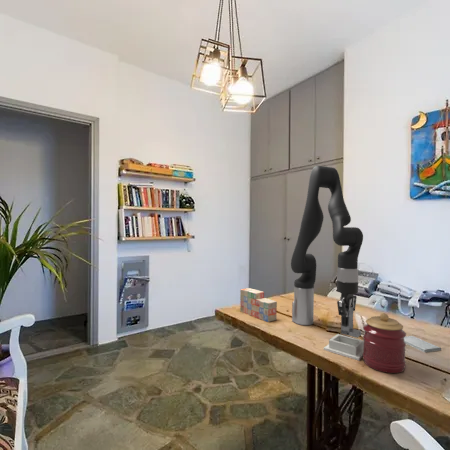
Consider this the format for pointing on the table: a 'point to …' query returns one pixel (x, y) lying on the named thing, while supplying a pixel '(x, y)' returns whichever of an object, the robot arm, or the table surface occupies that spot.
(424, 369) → the table surface
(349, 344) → the dock
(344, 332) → the block
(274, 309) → the stack of blocks
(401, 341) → the canister
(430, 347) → the hard drive
